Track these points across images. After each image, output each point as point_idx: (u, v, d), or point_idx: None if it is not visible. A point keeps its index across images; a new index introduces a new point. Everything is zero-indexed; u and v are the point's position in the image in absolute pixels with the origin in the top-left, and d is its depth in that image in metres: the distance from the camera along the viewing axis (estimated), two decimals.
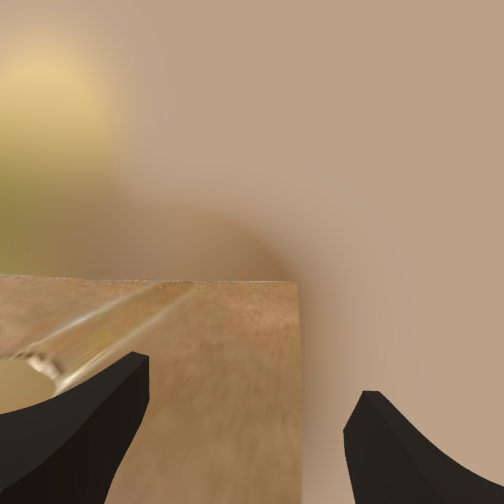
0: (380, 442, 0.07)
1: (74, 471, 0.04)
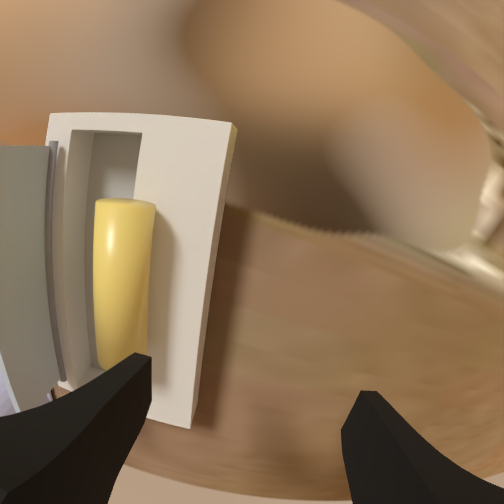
0: (377, 442, 0.07)
1: (78, 473, 0.04)
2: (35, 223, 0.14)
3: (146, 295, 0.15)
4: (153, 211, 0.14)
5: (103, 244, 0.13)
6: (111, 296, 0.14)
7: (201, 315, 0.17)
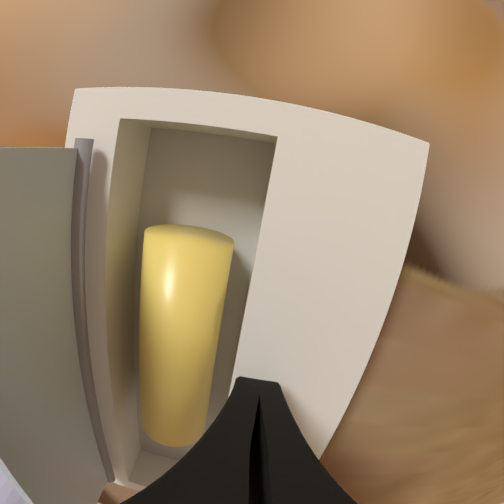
0: (258, 436, 0.07)
1: None
2: (56, 298, 0.08)
3: (141, 354, 0.10)
4: (147, 242, 0.09)
5: None
6: None
7: (340, 416, 0.11)
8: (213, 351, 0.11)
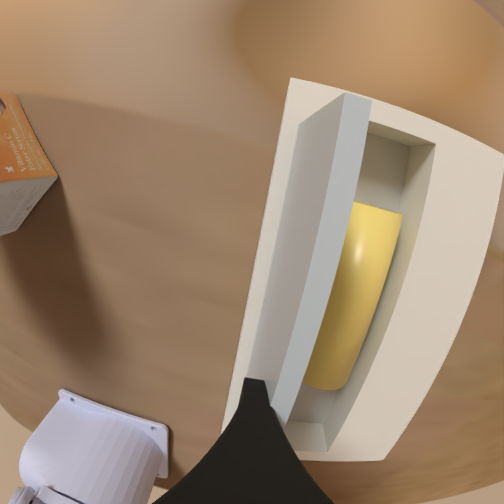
0: None
1: None
2: None
3: (333, 304, 0.13)
4: (360, 209, 0.12)
5: None
6: None
7: (450, 344, 0.14)
8: None
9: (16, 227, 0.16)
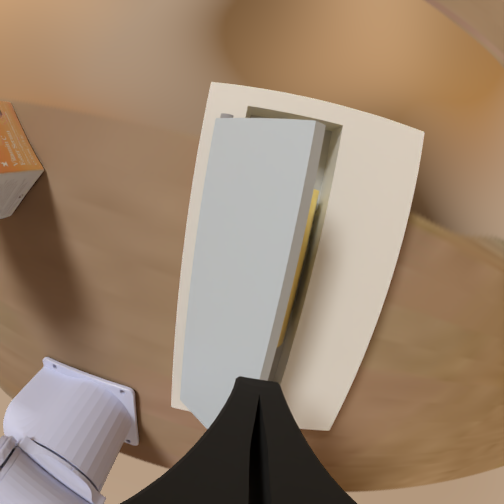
0: (258, 436, 0.07)
1: None
2: None
3: None
4: None
5: None
6: None
7: (378, 312, 0.16)
8: None
9: (10, 213, 0.18)
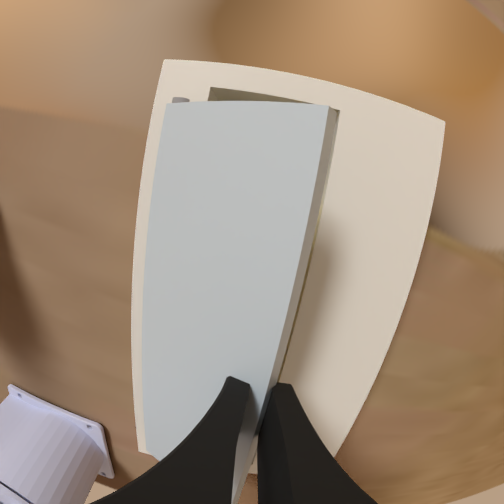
0: (274, 438, 0.07)
1: None
2: None
3: None
4: None
5: None
6: None
7: (384, 353, 0.12)
8: None
9: None
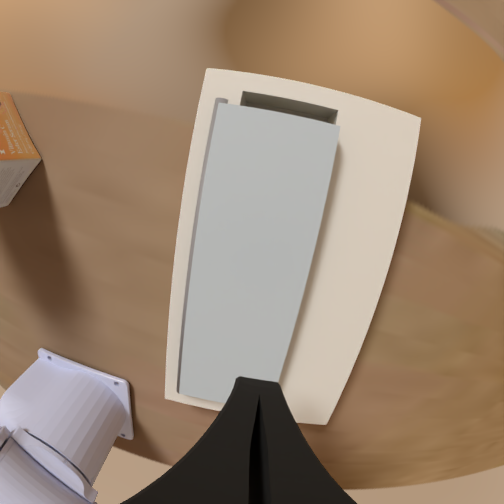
0: (258, 436, 0.07)
1: None
2: None
3: None
4: None
5: None
6: None
7: (376, 301, 0.16)
8: None
9: (7, 202, 0.18)
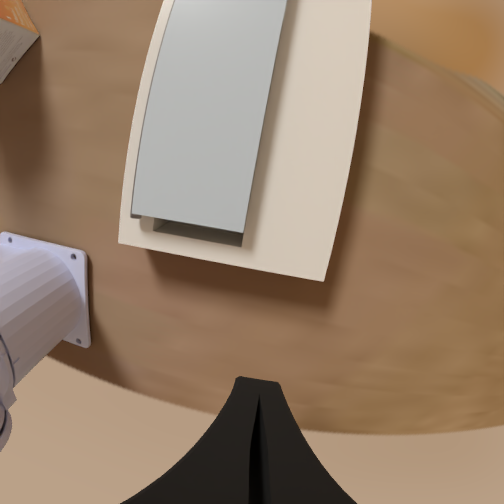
0: (258, 436, 0.07)
1: None
2: None
3: None
4: None
5: None
6: None
7: (360, 97, 0.13)
8: None
9: (0, 79, 0.15)
